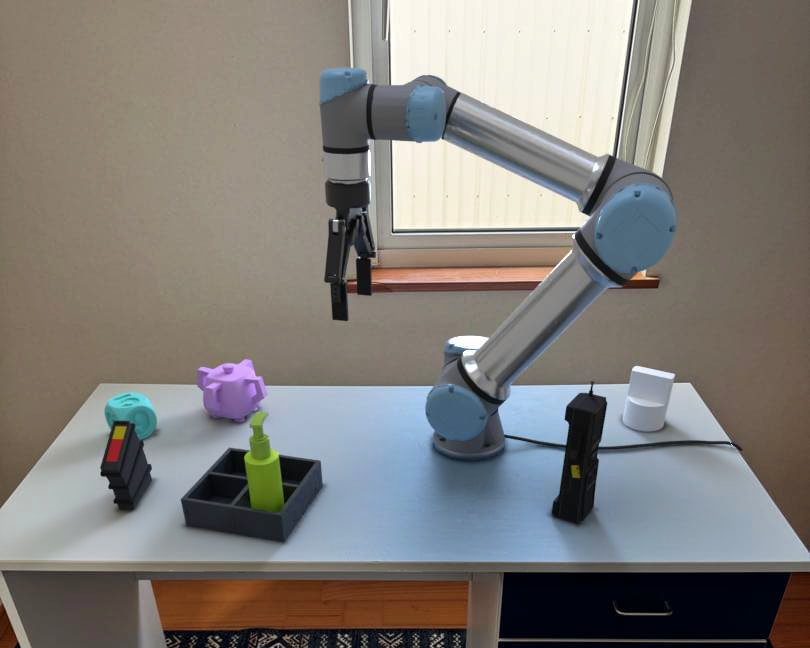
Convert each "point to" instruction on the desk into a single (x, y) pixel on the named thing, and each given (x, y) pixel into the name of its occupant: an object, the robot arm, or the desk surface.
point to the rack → (230, 499)
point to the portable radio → (580, 457)
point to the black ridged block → (126, 465)
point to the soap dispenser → (263, 469)
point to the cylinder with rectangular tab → (647, 399)
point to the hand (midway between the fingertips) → (353, 307)
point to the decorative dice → (132, 412)
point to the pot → (231, 390)
